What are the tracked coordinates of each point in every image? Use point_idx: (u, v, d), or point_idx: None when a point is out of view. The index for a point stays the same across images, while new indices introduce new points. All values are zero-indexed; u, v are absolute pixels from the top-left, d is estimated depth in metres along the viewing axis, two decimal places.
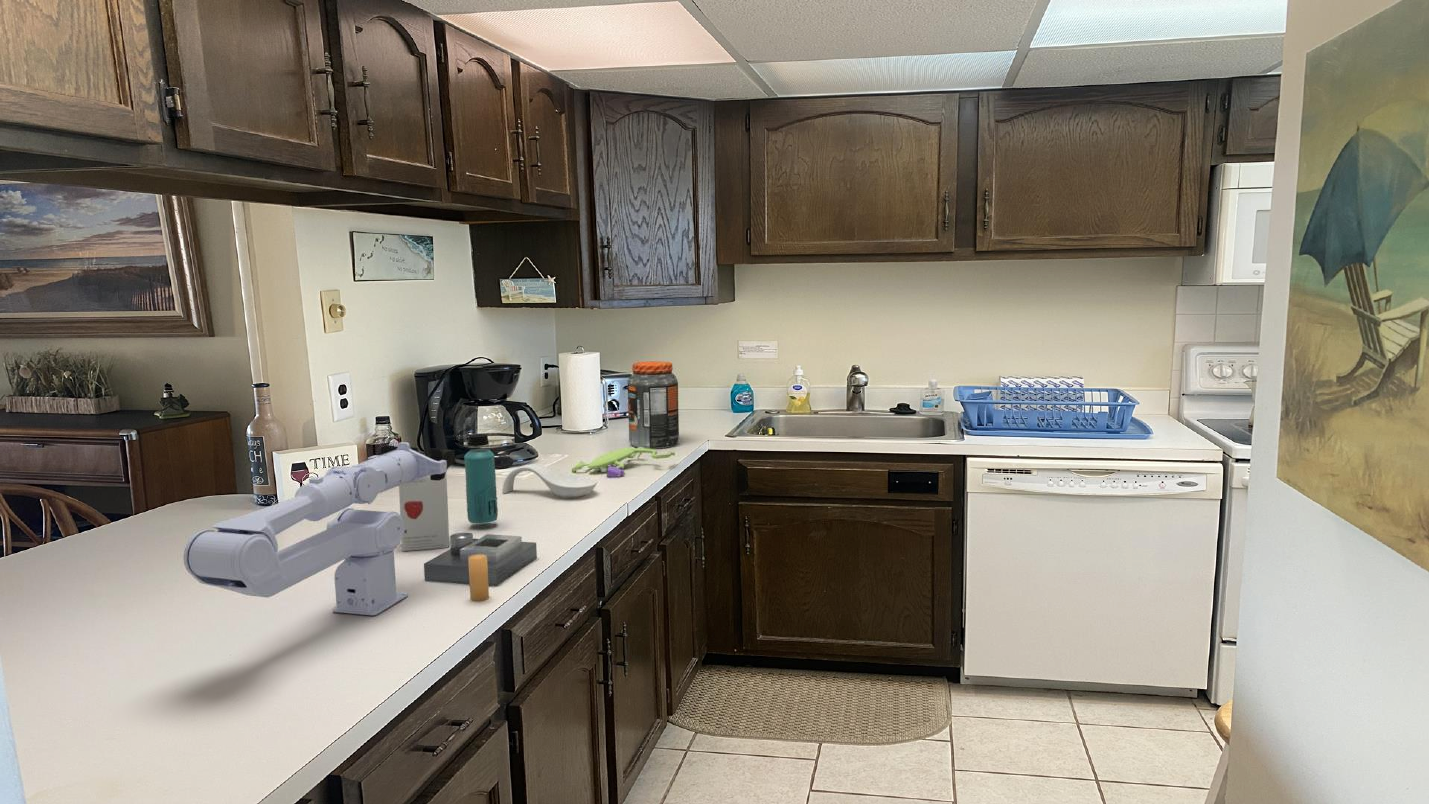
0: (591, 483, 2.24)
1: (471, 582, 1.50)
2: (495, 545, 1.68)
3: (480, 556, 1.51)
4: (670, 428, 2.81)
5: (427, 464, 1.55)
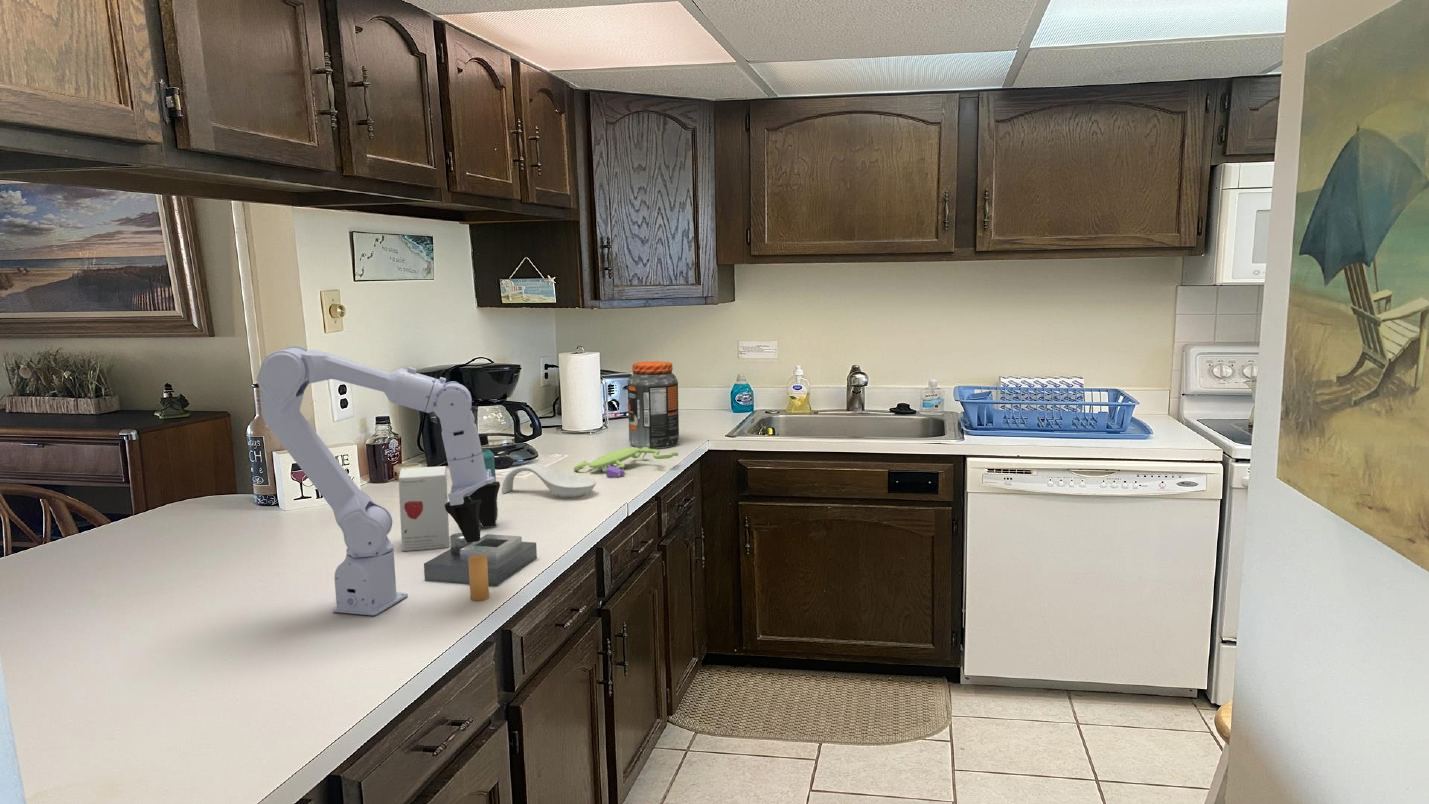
0: (590, 483, 2.24)
1: (471, 582, 1.50)
2: (495, 545, 1.68)
3: (480, 556, 1.51)
4: (670, 428, 2.81)
5: (462, 489, 1.46)
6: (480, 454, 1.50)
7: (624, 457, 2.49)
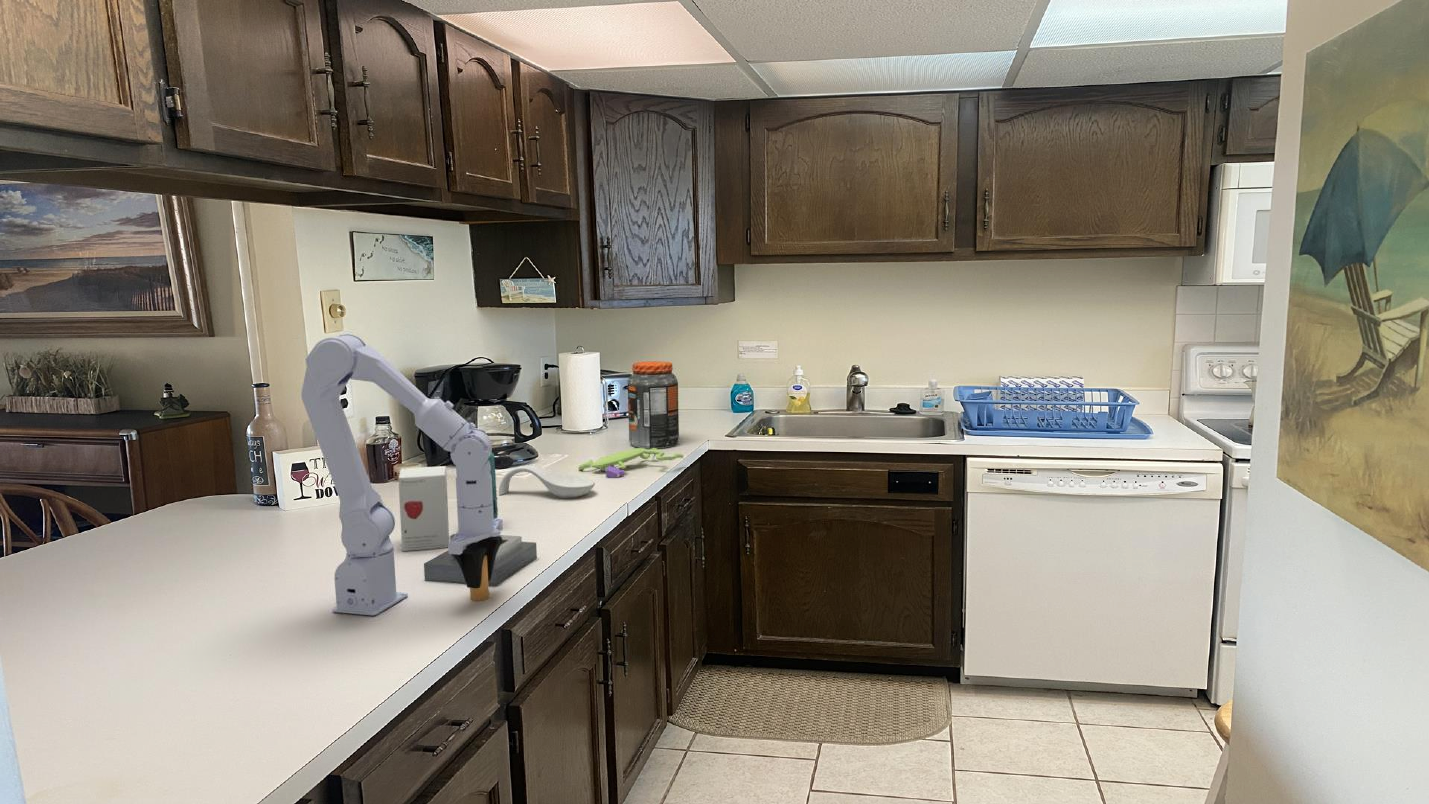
0: (589, 483, 2.25)
1: None
2: None
3: None
4: (670, 428, 2.81)
5: (464, 538, 1.46)
6: (489, 506, 1.49)
7: (627, 458, 2.49)
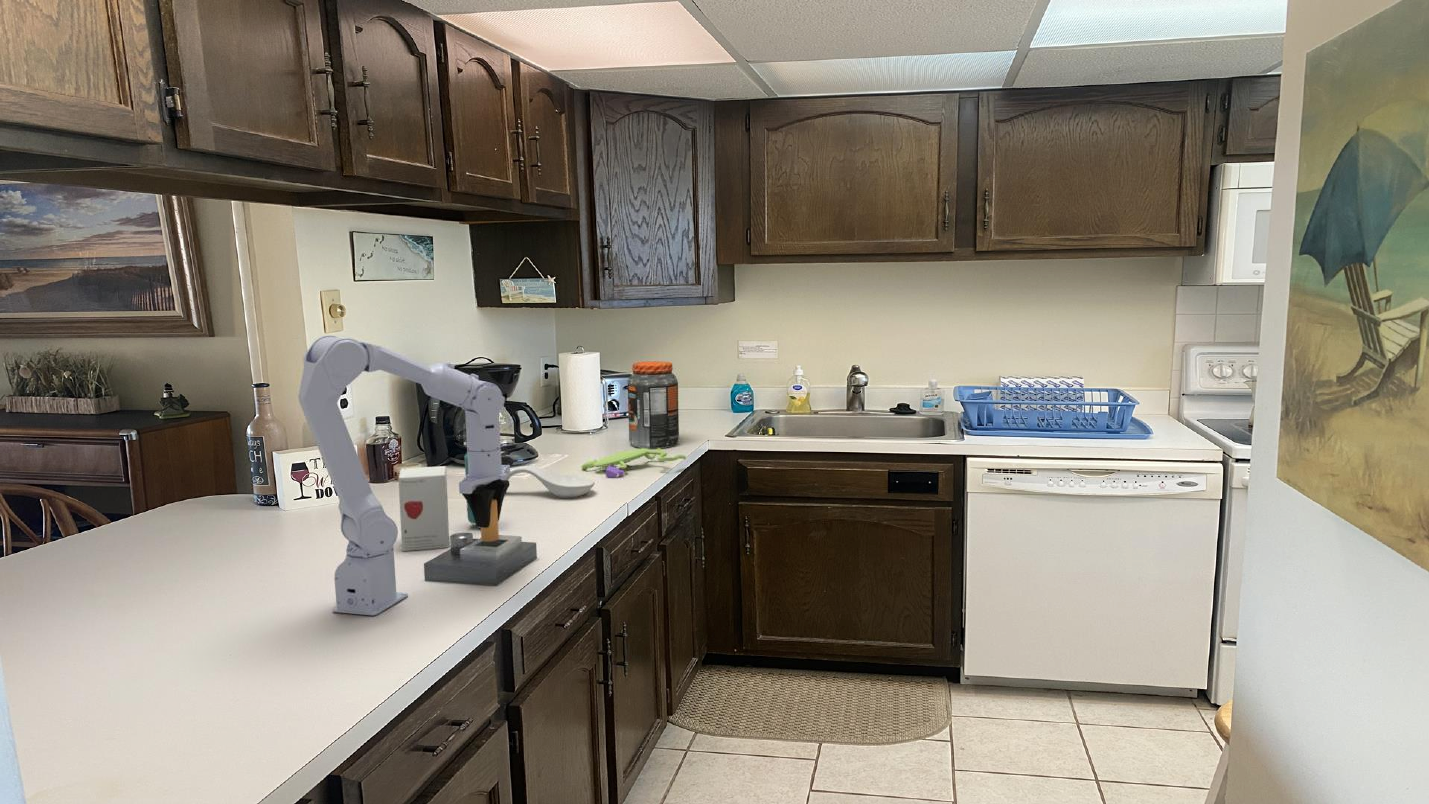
0: (588, 482, 2.25)
1: None
2: (495, 545, 1.68)
3: None
4: (670, 428, 2.81)
5: (474, 479, 1.56)
6: (497, 450, 1.59)
7: (629, 458, 2.48)
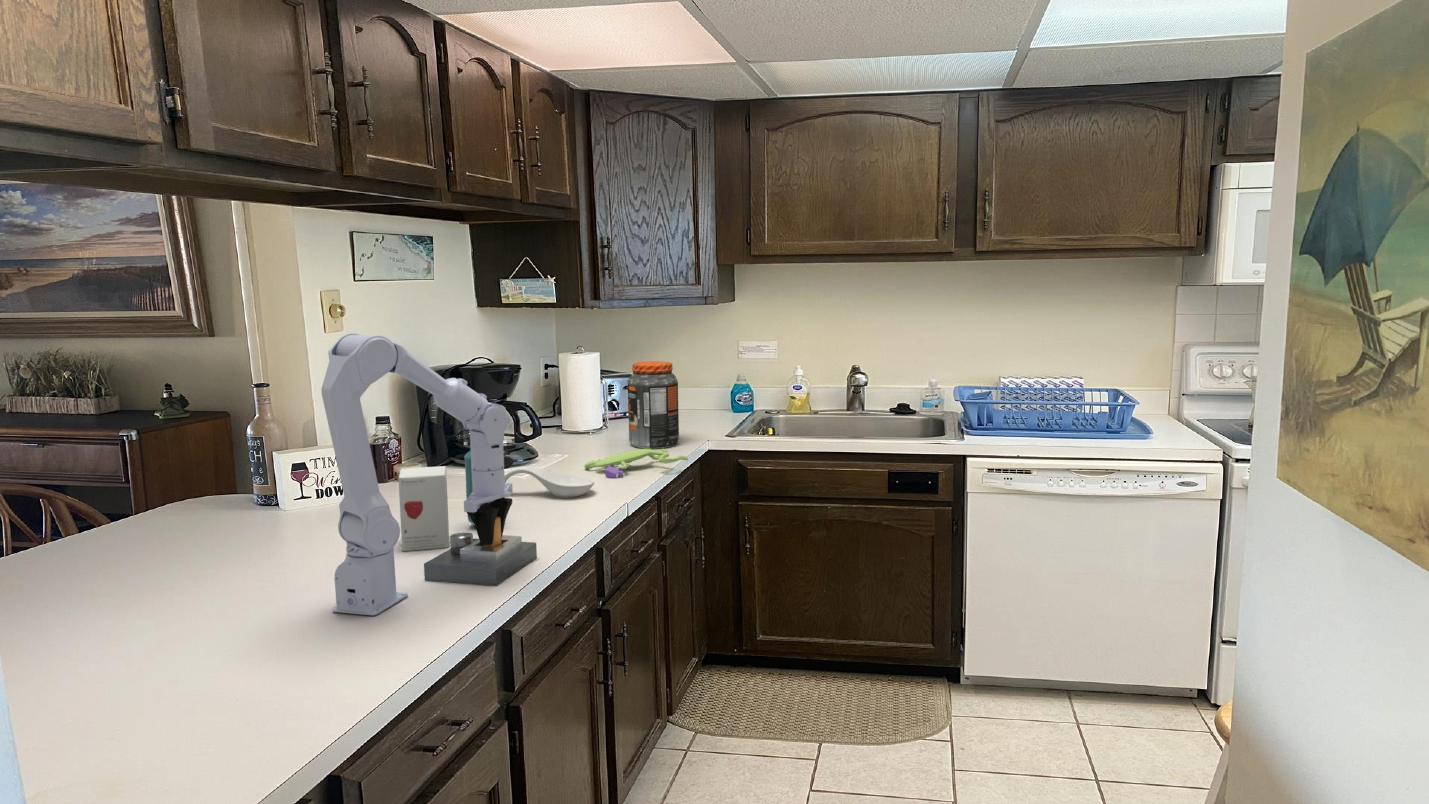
0: (587, 482, 2.26)
1: None
2: None
3: None
4: (670, 428, 2.81)
5: (478, 498, 1.60)
6: (501, 469, 1.63)
7: (631, 458, 2.48)
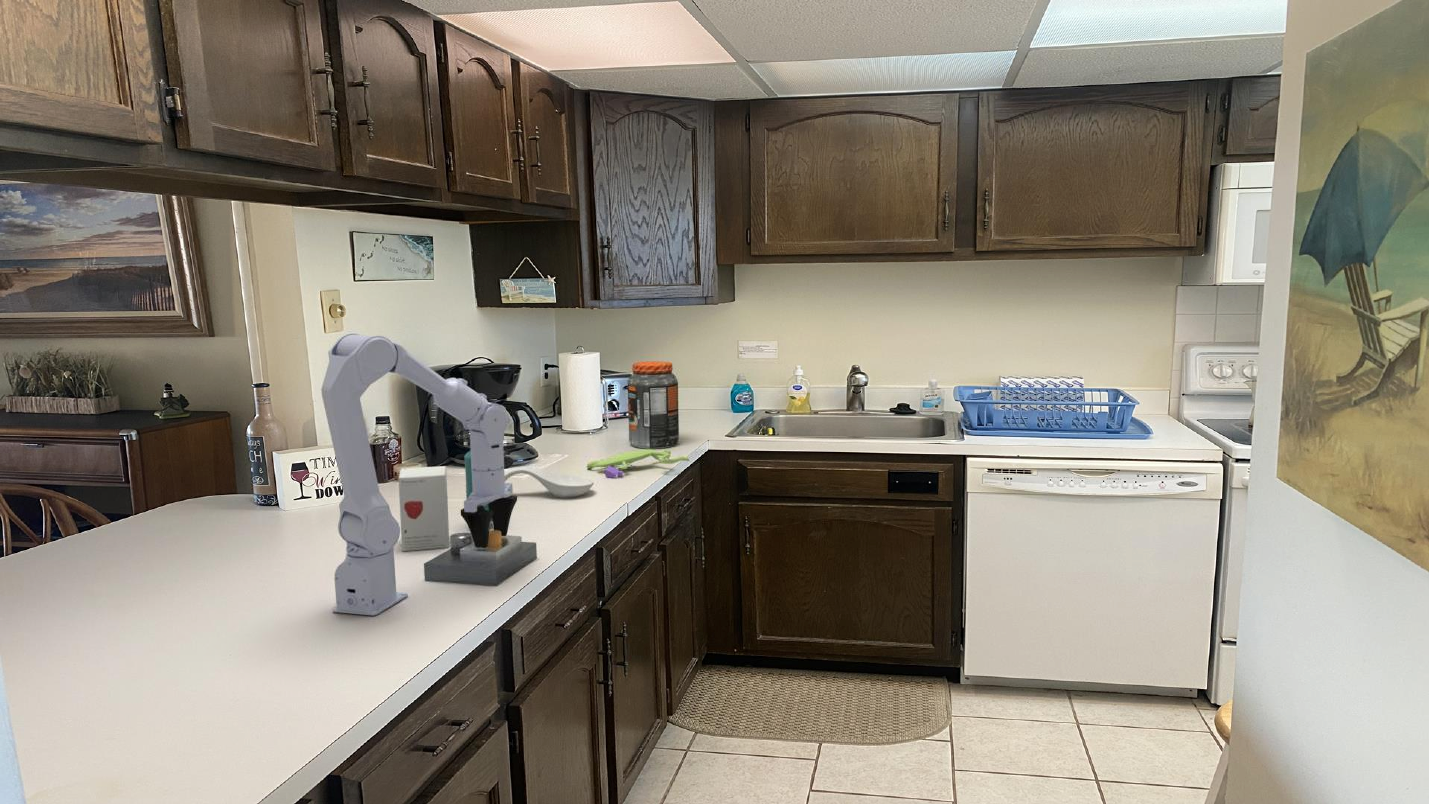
0: (586, 481, 2.26)
1: None
2: None
3: (495, 531, 1.66)
4: (670, 428, 2.81)
5: (478, 498, 1.60)
6: (501, 469, 1.63)
7: (632, 458, 2.47)
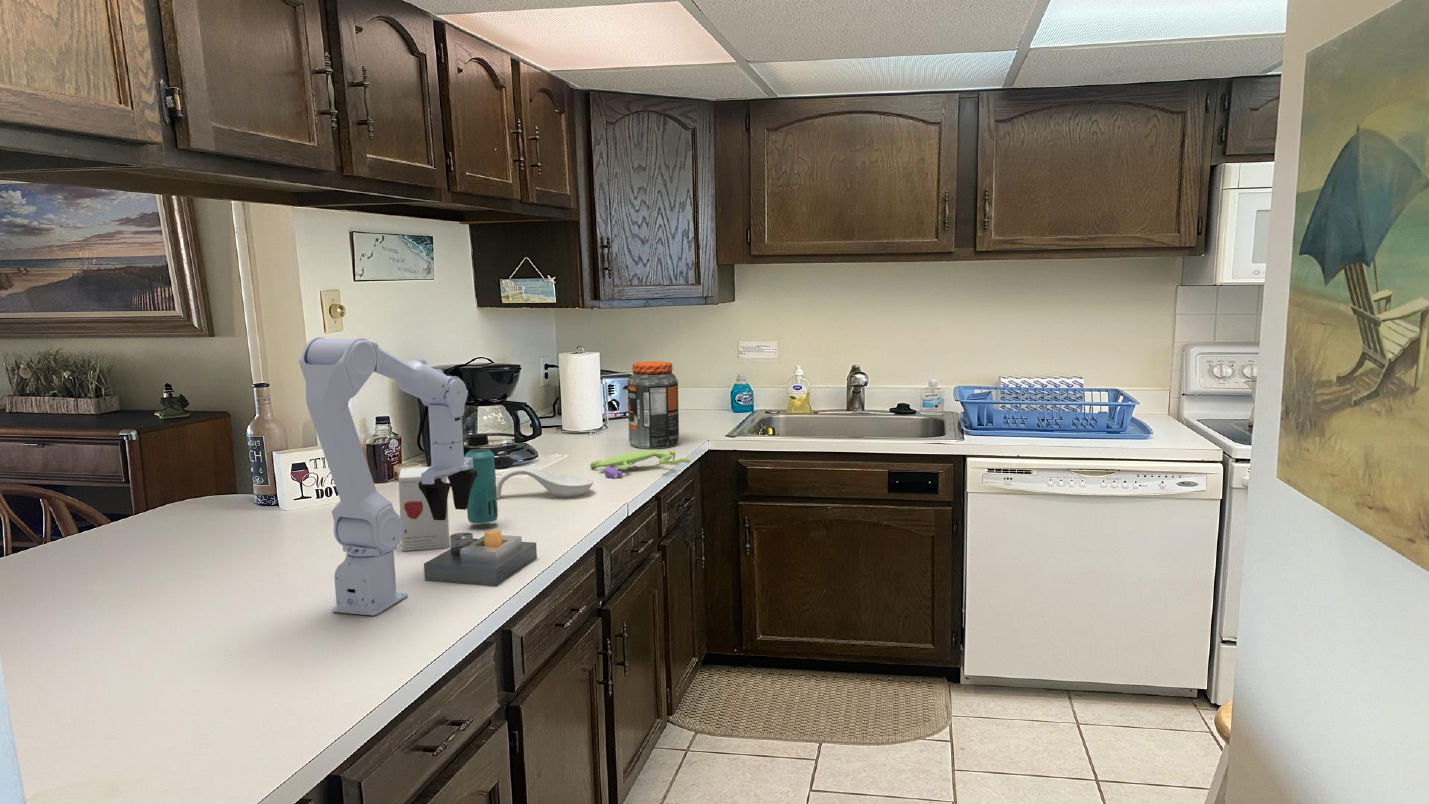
0: (584, 481, 2.27)
1: None
2: None
3: (495, 531, 1.66)
4: (670, 428, 2.81)
5: (436, 471, 1.61)
6: (459, 442, 1.64)
7: (634, 459, 2.47)
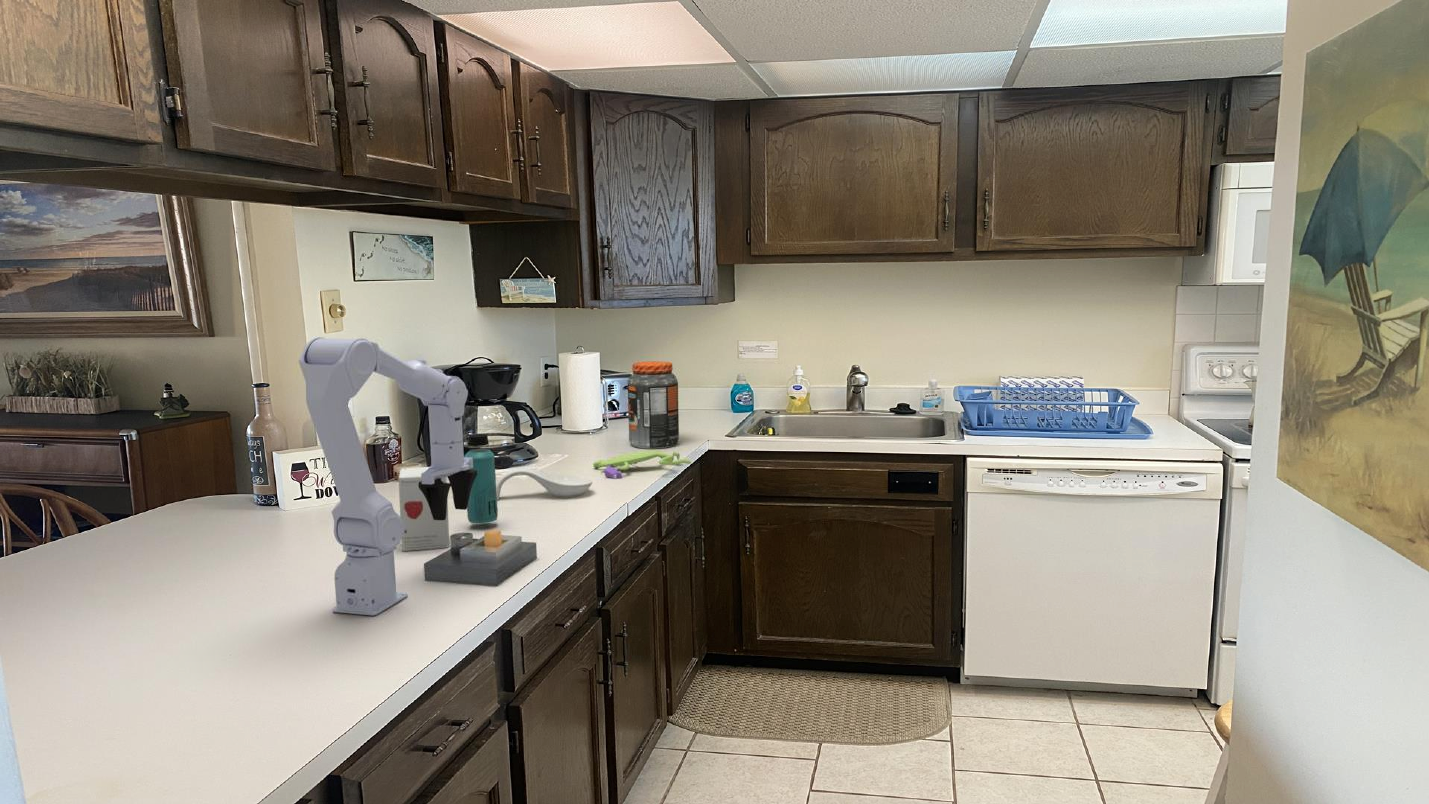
0: (582, 481, 2.27)
1: None
2: None
3: (495, 531, 1.66)
4: (670, 428, 2.81)
5: (436, 471, 1.61)
6: (459, 442, 1.64)
7: (635, 459, 2.46)
